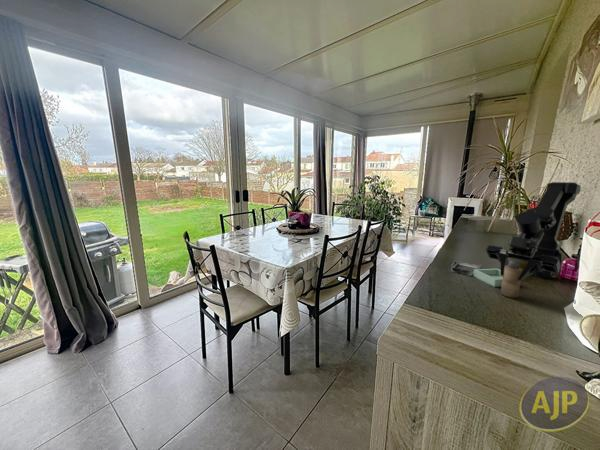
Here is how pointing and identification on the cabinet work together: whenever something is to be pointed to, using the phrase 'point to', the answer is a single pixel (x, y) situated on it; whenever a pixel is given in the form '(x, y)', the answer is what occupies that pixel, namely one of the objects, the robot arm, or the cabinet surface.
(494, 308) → the cabinet surface
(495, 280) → the tray
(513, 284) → the pepper mill
